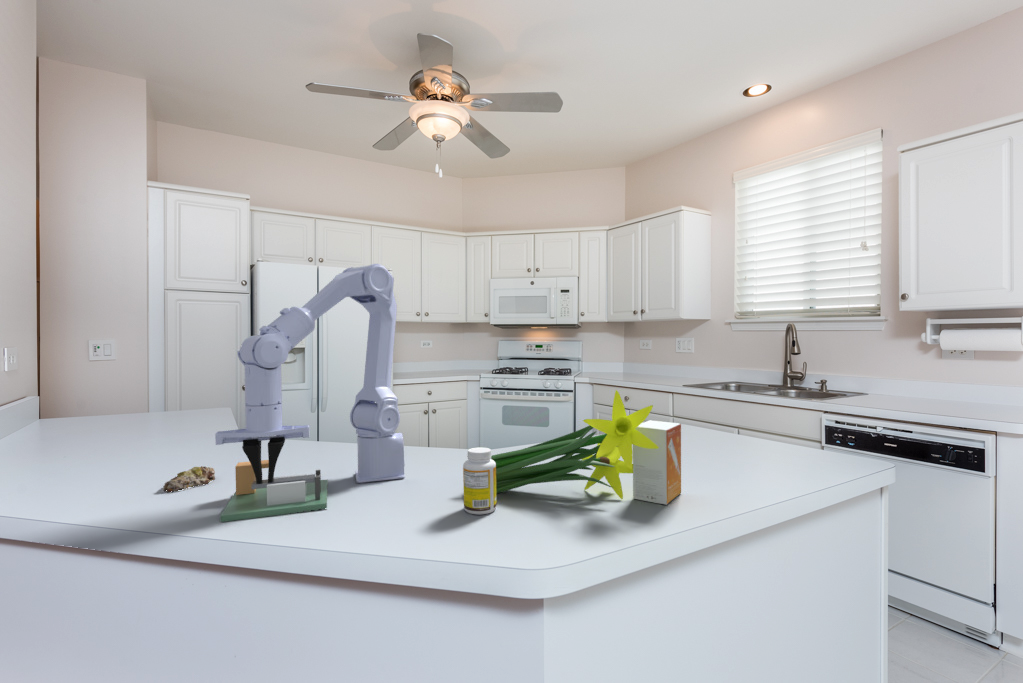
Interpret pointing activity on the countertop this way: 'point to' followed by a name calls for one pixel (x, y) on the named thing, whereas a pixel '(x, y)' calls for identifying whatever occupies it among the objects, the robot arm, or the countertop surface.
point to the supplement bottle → (479, 482)
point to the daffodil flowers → (604, 460)
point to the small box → (658, 463)
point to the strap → (285, 480)
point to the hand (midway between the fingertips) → (265, 481)
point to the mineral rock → (190, 478)
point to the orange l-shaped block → (246, 477)
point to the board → (262, 510)
